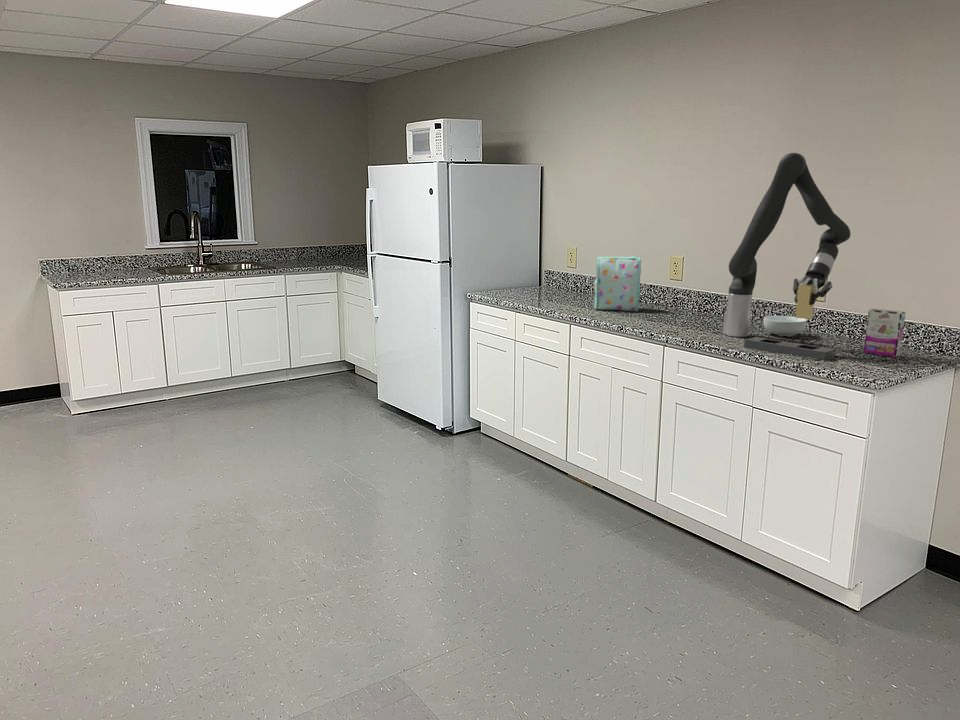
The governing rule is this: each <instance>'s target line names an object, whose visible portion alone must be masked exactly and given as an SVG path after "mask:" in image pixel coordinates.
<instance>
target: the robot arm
mask: <svg viewBox="0 0 960 720" xmlns="http://www.w3.org/2000/svg"><path fill="white" fill-rule="evenodd" d="M794 185H795V187H796V189H797V191H798V192H799V194H800V196H801V197H802V201H803V202H804V204H805V206H806V209H807V210H808V212H809V214H810V215H811V217H812V219H813V220H814V222H815V224H816V225H818V226H824V225H825V226H827V227H828V229H826V230H824V232H822V234H821V236H820V238H819V244H818V249H817V251H816V253H815V255H814V257H813V258H812V260H811V262H810V264H809V265H808V268H807V270H806V272H805V275H804V276H803V277H802V279H798V278H794V279H793V286H792V287H793V288H792V291H793V294H794V295H795V297H794V298H793V299H794V302H795V305H797V295H798V286H799V285H802V284H807V285H816V286H815V290H814V294H812V296H811V298H810V300H809V304H810V305H813V304H814V305H815V303H816V301H817V299H818V298H820V297H821V298H824V297H825V296H826V295H827V294H828V292H830V290H831V289H832V288H833V285H832V281H829V280H828V277H829V276H830V273H831V272H832V270H833V266H834V264H835V261H836V259H837V257H838V255H839V248H838V246H839V245H841V244H843V243H845V242H847V241H849V239H850V237H851V230H850V228H849V226H848V225H847V223H846V222H845V221H844V220H843V219H842V218H840V217H839V216H838V215H837V214H836V213H835V212H834V211H833V209H832V208H831V206H830V204H829V203H828V201H827V199H826V198H825V196H824V195H823V194H822V192H821V191H820V189H819V187H818V186H817V184H816V182H815V180H814V178H813V177H812V174H811V172H810V170H809V167H808V164H807V161H806V158H805V157H804V155H802V154H801V153H798V152H790V153H786V154H784V155H783V156H782V158H780V160H779V162H778V165H777V168H776V171H775V174H774V176H773V178H772V181H771V183H770V186H769V187H768V189H767V190H766V192H765V194H764V195H763V197H762V198H761V201H760V203H759V205H758V206H757V207H756V210H755V212H754V214H753V216H752V219H751V221H750V222H749V225H748V227H747V230H746V232H745V233H744V236H743V238H742V241H741V243H740V244H739V246H738V248H737V249H736V250H735V252H734V254H733V255H732V256H731V258H730V260H729V263H728V271H729V273H730V275H731V276H732V281H731V284H730V285H729V288H728V297H727V308H726V311H724V319H723V326H722V327H723V328H722V335H725V334H726V335H725V336H729V337H736V338H737V337H738V338H740V337H741V338H745V337H749V333H750V324H751V313H752V312H751V311H752V303H753V302H752V301H753V292H754V288H755V287H756V279H757V271H758V263H757V259H756V258H755V257H756V255H757V253H758V251H759V250H760V247H761V246H762V245H763V243H764V242H765V241H766V240H767V239H768V238H769V236H770V235H771V234H772V232H773V231H774V229H775V228H776V226H777V224H778V221H779V220H780V218H781V215H782V213H783V211H784V207H785V205H786V201H787V198H788V196H789V193H790V191H791V190H792V188H793V186H794ZM827 280H828V281H827Z"/></svg>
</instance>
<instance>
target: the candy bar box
mask: <svg viewBox="0 0 960 720" xmlns="http://www.w3.org/2000/svg"><path fill="white" fill-rule="evenodd" d="M905 319H906V311H901V310H899V311H898V310H890V309H889V310H888V309H882V308H881V309H879V308H871V309H868V315H867V323H866V331H865V339H864V347H863V353H864V354H867V353H871V354H870V355H874V354H877V355H876V356H881V355H882V356H883V357H890V358H897V357H900V356H901V349H902V343H903V335H904V327H905Z"/></svg>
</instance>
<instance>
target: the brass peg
mask: <svg viewBox="0 0 960 720" xmlns="http://www.w3.org/2000/svg"><path fill="white" fill-rule="evenodd" d="M815 286H816V285H807V284H803V283H801V284H800V285H799V286H798V295H797V304H795V305H796V307H795V315H794V317H795V318H803V319H806V320H810V319H813V318H814V307H815V303H814V304H813V305H810V304H809V300H810V298H811V296H812V294H814V290H815Z"/></svg>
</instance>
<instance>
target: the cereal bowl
mask: <svg viewBox="0 0 960 720" xmlns="http://www.w3.org/2000/svg"><path fill="white" fill-rule="evenodd" d="M807 322H808V319H803V318H795V316H792V315H791V316H788V315H769V316H768V315H767V316H764V317H763V327H764V329H765V330H766V331H768V332H769V333H772V334H773V335H774V334H775V336H776V335H778V336H777V337H783V336H787V337H788V338H789V337H790V338H791V337H794V336H796V335H798V334H800V333H802V332H804V330H805V329H806V328H807ZM787 337H786V338H787Z"/></svg>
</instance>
